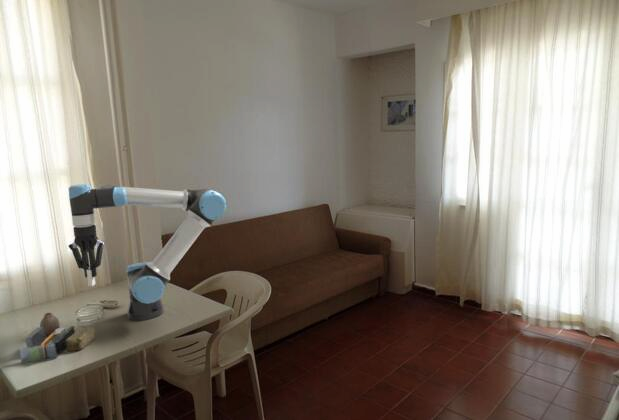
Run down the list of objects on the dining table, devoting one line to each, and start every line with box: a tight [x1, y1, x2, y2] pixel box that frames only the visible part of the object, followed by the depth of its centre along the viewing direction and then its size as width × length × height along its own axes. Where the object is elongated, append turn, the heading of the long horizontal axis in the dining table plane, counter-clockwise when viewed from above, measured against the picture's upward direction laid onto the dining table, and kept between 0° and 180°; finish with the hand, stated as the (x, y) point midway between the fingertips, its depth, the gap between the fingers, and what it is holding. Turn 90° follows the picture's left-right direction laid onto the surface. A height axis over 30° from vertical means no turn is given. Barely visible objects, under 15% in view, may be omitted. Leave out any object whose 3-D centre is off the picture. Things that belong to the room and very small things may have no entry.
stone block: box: [66, 326, 96, 352], centre depth 163 cm, size 6×12×5 cm, turn 179°
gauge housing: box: [18, 326, 58, 363], centre depth 159 cm, size 12×14×7 cm
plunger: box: [41, 325, 76, 358], centre depth 160 cm, size 4×18×6 cm, turn 8°
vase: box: [39, 312, 61, 337], centre depth 174 cm, size 7×7×9 cm
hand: (92, 285), depth 166 cm, fingers closed
